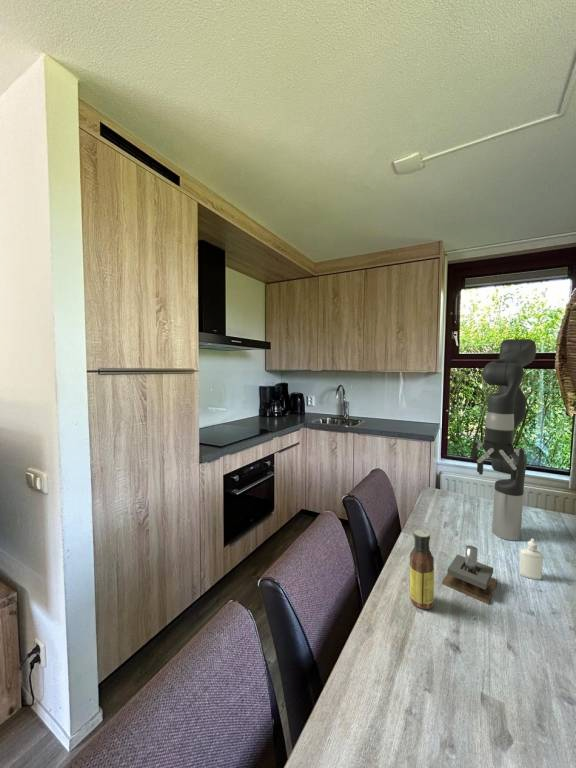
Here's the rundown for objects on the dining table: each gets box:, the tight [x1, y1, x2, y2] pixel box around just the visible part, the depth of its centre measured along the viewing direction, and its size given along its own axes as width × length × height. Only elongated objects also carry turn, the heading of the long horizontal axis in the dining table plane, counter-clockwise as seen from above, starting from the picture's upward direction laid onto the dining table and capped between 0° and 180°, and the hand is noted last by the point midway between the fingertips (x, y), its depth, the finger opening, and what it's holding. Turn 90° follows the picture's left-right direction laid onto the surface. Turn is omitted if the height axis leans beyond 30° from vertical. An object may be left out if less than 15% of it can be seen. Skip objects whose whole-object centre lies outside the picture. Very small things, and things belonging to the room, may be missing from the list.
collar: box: [446, 554, 494, 590], centre depth 98 cm, size 10×10×2 cm
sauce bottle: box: [409, 529, 435, 610], centre depth 90 cm, size 7×6×20 cm
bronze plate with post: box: [441, 545, 498, 605], centre depth 98 cm, size 12×12×11 cm
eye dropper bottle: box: [518, 537, 544, 581], centre depth 102 cm, size 4×6×12 cm
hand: (496, 477), depth 104 cm, fingers open, 8 cm apart
